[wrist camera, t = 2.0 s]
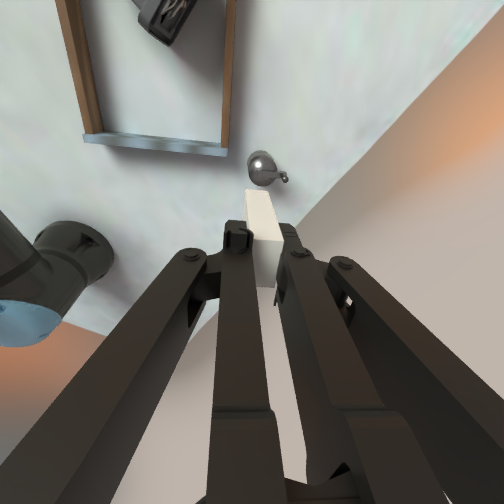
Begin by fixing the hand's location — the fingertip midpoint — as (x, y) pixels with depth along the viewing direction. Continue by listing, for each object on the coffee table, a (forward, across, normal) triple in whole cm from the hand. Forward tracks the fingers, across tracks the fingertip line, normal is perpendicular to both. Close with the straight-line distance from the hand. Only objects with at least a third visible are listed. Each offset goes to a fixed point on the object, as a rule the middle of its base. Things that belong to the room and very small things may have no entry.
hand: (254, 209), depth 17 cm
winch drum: (+34, +4, -5) cm, 35 cm away
